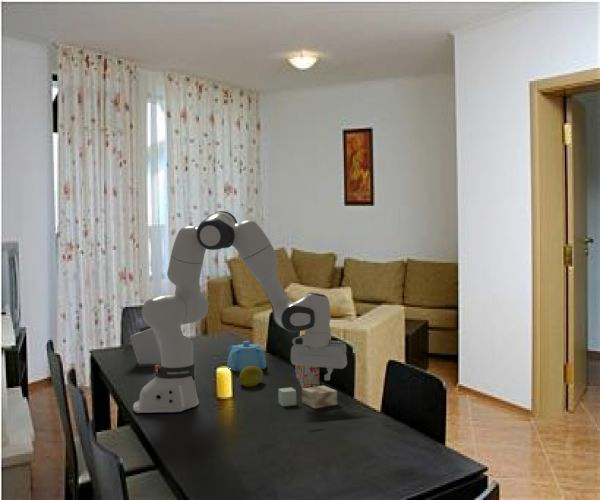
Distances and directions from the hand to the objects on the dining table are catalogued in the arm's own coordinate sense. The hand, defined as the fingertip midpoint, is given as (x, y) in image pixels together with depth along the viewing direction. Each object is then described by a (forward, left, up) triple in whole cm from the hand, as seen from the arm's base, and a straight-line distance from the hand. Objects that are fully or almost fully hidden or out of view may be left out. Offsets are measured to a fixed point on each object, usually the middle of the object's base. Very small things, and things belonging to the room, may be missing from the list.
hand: (318, 379), depth 213 cm
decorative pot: (-19, +55, -9) cm, 59 cm away
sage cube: (-11, +2, -8) cm, 14 cm away
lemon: (-20, +30, -9) cm, 37 cm away
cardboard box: (+1, +27, -9) cm, 28 cm away
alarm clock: (-58, +77, -9) cm, 97 cm away
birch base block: (0, 0, -9) cm, 9 cm away
